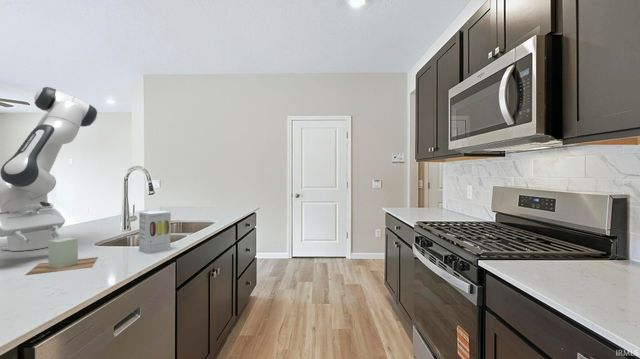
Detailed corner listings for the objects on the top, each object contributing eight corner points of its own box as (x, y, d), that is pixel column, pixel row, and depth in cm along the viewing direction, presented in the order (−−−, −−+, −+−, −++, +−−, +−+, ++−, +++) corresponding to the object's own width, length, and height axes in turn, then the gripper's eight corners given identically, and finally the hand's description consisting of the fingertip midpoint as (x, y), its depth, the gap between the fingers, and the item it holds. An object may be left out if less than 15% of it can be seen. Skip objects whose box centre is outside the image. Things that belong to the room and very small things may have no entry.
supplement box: (148, 254, 122) (147, 213, 122) (138, 251, 128) (138, 211, 128) (171, 250, 130) (171, 211, 130) (161, 246, 136) (161, 209, 135)
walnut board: (39, 266, 106) (39, 263, 106) (98, 260, 114) (98, 257, 114) (24, 279, 94) (24, 275, 94) (92, 270, 102) (92, 267, 102)
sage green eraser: (48, 267, 102) (48, 240, 102) (68, 262, 108) (68, 237, 107) (58, 268, 100) (57, 242, 100) (77, 263, 106) (77, 238, 106)
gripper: (-11, 207, 99) (11, 239, 97) (56, 202, 119) (75, 228, 117) (-21, 220, 100) (1, 252, 98) (47, 213, 120) (66, 239, 118)
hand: (42, 239), depth 108 cm, fingers open, 8 cm apart
